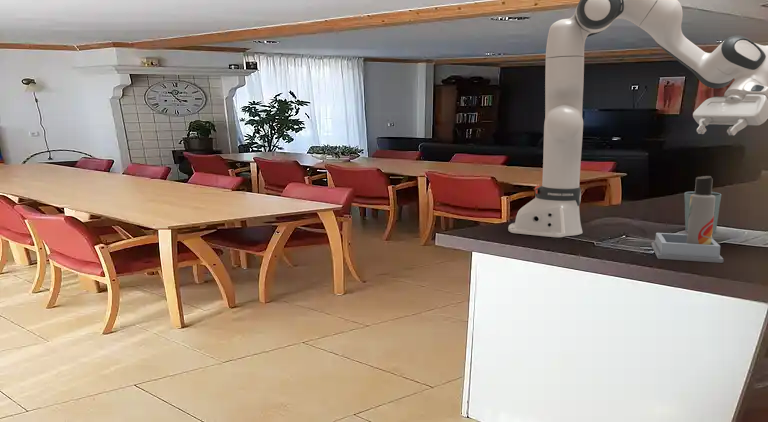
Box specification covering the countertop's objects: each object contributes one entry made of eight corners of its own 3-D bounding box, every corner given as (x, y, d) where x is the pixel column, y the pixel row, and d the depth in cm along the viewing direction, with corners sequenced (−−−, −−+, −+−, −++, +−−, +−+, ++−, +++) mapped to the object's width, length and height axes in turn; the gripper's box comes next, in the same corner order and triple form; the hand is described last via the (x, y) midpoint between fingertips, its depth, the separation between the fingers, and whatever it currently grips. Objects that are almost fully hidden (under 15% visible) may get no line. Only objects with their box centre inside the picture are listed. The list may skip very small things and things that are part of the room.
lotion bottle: (715, 255, 154) (722, 177, 151) (695, 255, 154) (702, 177, 150) (700, 249, 160) (706, 174, 157) (681, 250, 159) (687, 175, 156)
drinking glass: (721, 235, 183) (724, 196, 181) (684, 233, 186) (687, 194, 184) (713, 228, 192) (717, 191, 190) (678, 227, 195) (681, 190, 193)
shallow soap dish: (657, 258, 155) (658, 243, 155) (651, 245, 169) (652, 231, 169) (723, 262, 151) (724, 247, 150) (711, 249, 165) (712, 235, 164)
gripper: (705, 89, 174) (677, 123, 172) (774, 86, 155) (743, 125, 153) (715, 104, 176) (687, 139, 174) (784, 104, 157) (754, 143, 156)
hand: (714, 133), depth 163 cm, fingers open, 8 cm apart
